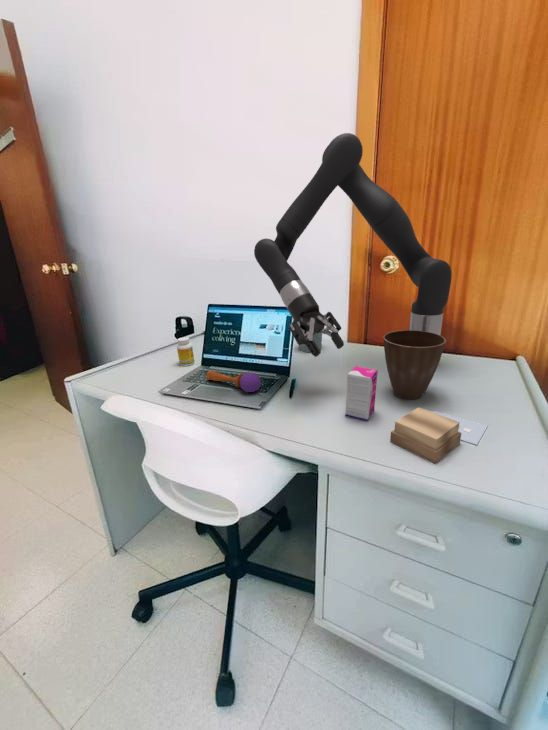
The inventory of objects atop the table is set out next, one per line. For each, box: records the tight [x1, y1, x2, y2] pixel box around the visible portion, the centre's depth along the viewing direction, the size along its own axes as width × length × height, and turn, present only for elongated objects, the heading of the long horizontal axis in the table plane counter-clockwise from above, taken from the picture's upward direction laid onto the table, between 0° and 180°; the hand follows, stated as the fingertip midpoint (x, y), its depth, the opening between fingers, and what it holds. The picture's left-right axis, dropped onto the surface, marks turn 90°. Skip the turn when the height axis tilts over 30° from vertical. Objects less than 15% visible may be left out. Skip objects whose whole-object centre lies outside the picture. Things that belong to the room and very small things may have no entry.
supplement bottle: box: [176, 336, 195, 367], centre depth 124 cm, size 5×5×10 cm
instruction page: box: [430, 410, 488, 446], centre depth 78 cm, size 9×12×1 cm
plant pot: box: [383, 329, 447, 400], centre depth 92 cm, size 15×15×16 cm
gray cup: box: [298, 329, 323, 354], centre depth 132 cm, size 10×10×12 cm
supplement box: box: [345, 365, 378, 422], centre depth 84 cm, size 6×6×12 cm
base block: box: [389, 406, 461, 464], centre depth 72 cm, size 10×10×5 cm
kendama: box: [205, 370, 262, 393], centre depth 105 cm, size 6×6×20 cm
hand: (330, 351), depth 88 cm, fingers open, 8 cm apart
